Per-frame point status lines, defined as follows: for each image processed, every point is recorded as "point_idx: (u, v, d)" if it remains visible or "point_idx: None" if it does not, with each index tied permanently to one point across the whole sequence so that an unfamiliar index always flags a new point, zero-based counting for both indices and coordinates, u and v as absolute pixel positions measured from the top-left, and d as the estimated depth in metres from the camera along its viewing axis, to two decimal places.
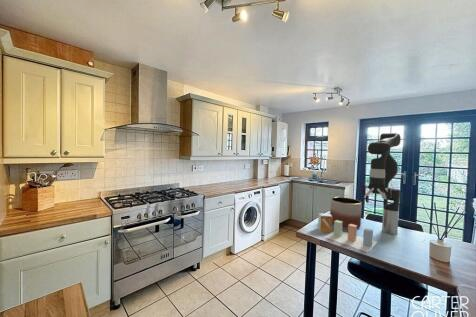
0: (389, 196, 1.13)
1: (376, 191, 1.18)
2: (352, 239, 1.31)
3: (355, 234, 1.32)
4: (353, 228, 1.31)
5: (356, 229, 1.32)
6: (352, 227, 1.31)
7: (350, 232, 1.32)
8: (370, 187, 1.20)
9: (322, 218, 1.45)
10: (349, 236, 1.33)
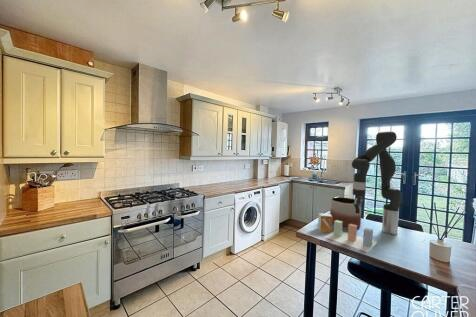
0: (361, 204, 1.39)
1: None
2: (352, 239, 1.31)
3: (355, 234, 1.32)
4: (353, 228, 1.31)
5: (356, 229, 1.32)
6: (352, 227, 1.31)
7: (350, 232, 1.32)
8: (358, 199, 1.36)
9: (322, 218, 1.45)
10: (349, 236, 1.33)
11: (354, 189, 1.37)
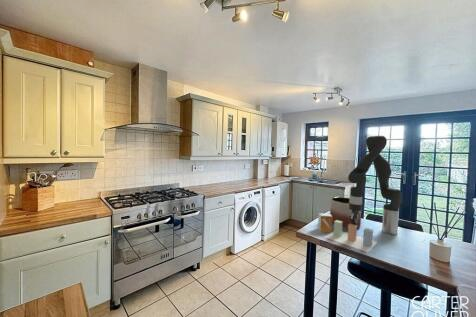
0: (358, 219, 1.37)
1: None
2: (352, 239, 1.31)
3: (355, 234, 1.32)
4: (353, 228, 1.31)
5: (356, 229, 1.32)
6: (352, 227, 1.31)
7: (350, 232, 1.32)
8: (355, 213, 1.33)
9: (322, 218, 1.45)
10: (349, 236, 1.33)
11: (350, 203, 1.34)
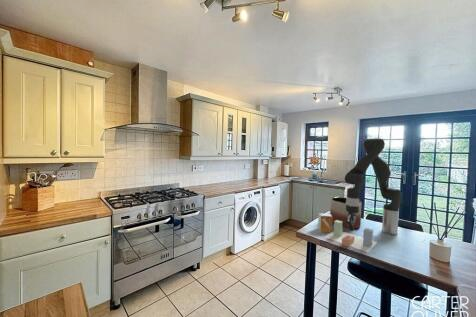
0: (355, 221, 1.32)
1: None
2: None
3: (351, 241, 1.27)
4: None
5: (350, 240, 1.25)
6: None
7: None
8: (352, 216, 1.29)
9: (322, 218, 1.45)
10: None
11: (347, 205, 1.30)
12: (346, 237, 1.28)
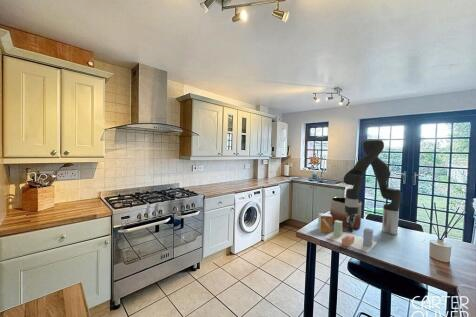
0: (354, 222, 1.31)
1: None
2: None
3: (351, 241, 1.27)
4: None
5: (350, 240, 1.25)
6: None
7: None
8: (351, 217, 1.27)
9: (322, 218, 1.45)
10: None
11: (346, 206, 1.29)
12: (346, 237, 1.28)
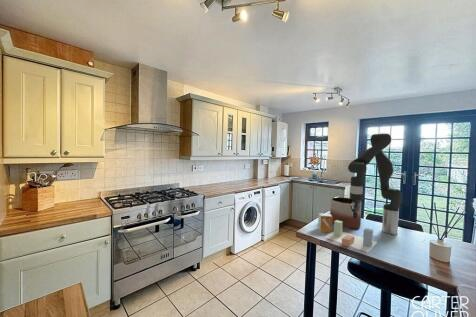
0: (358, 209, 1.36)
1: None
2: None
3: (351, 241, 1.27)
4: None
5: (350, 240, 1.25)
6: None
7: None
8: (356, 203, 1.32)
9: (322, 218, 1.45)
10: None
11: (351, 193, 1.34)
12: (346, 237, 1.28)
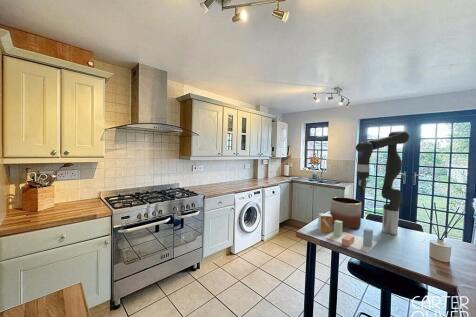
0: (365, 187, 1.44)
1: None
2: None
3: (351, 241, 1.27)
4: None
5: (350, 240, 1.25)
6: None
7: None
8: (363, 181, 1.40)
9: (322, 218, 1.45)
10: None
11: (358, 171, 1.41)
12: (346, 237, 1.28)
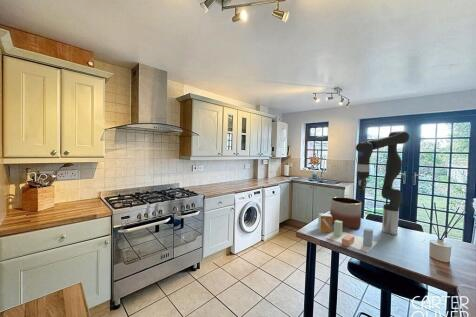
0: (365, 186, 1.44)
1: None
2: None
3: (351, 241, 1.27)
4: None
5: (350, 240, 1.25)
6: None
7: None
8: (363, 181, 1.40)
9: (322, 218, 1.45)
10: None
11: (358, 171, 1.41)
12: (346, 237, 1.28)
